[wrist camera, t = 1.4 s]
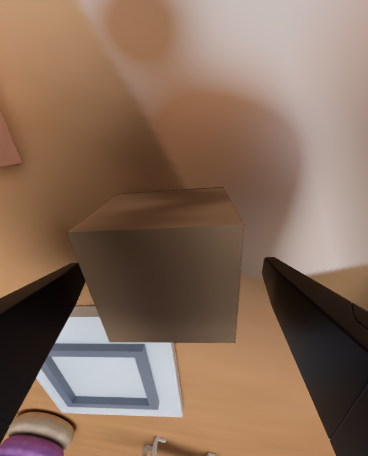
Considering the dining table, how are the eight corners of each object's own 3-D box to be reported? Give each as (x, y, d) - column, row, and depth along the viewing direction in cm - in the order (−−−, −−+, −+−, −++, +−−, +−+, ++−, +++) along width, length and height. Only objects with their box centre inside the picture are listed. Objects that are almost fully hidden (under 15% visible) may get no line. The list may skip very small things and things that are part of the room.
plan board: (168, 305, 15) (166, 324, 13) (183, 405, 21) (182, 424, 20) (2, 306, 16) (-18, 324, 14) (67, 401, 23) (58, 419, 21)
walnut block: (222, 186, 10) (243, 224, 6) (221, 272, 13) (235, 342, 9) (119, 193, 11) (66, 232, 6) (137, 274, 14) (109, 342, 9)
